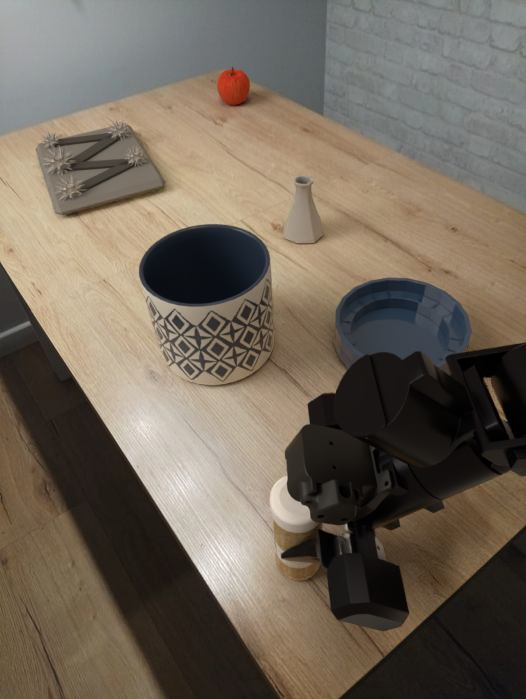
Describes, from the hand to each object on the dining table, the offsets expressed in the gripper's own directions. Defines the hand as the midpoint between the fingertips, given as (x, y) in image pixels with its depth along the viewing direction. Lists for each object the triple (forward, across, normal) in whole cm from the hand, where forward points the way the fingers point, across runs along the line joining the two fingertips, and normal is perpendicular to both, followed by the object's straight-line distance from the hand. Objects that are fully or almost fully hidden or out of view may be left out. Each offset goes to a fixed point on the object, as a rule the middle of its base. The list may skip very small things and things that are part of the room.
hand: (282, 532), depth 47 cm
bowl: (-7, -28, +17) cm, 34 cm away
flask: (0, -56, +10) cm, 56 cm away
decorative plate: (+28, -82, -19) cm, 89 cm away
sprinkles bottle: (+4, 0, +6) cm, 7 cm away
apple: (+9, -112, +1) cm, 113 cm away
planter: (+10, -30, 0) cm, 32 cm away
